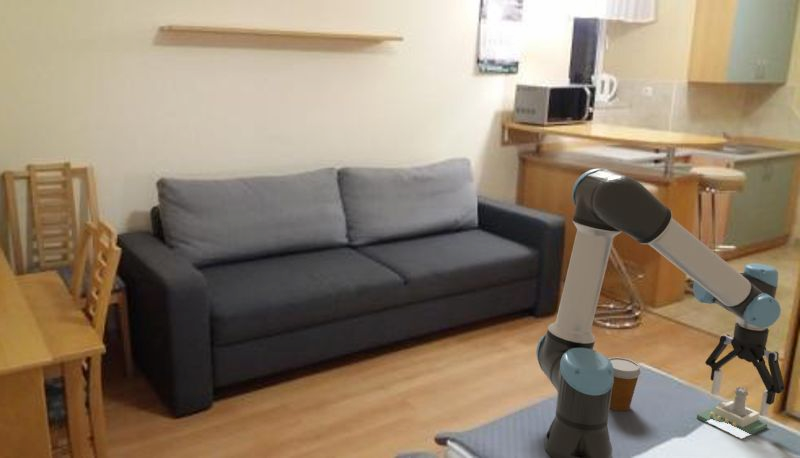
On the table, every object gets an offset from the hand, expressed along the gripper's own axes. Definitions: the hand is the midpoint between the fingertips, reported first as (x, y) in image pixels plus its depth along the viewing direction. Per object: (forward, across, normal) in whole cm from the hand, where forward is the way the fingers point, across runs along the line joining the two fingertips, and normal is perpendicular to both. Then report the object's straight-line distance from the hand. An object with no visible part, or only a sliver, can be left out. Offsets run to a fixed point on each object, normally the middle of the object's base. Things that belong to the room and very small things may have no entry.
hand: (738, 403), depth 168 cm
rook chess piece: (+4, 0, 0) cm, 4 cm away
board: (+5, 0, +2) cm, 5 cm away
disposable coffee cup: (+5, +21, +21) cm, 30 cm away
